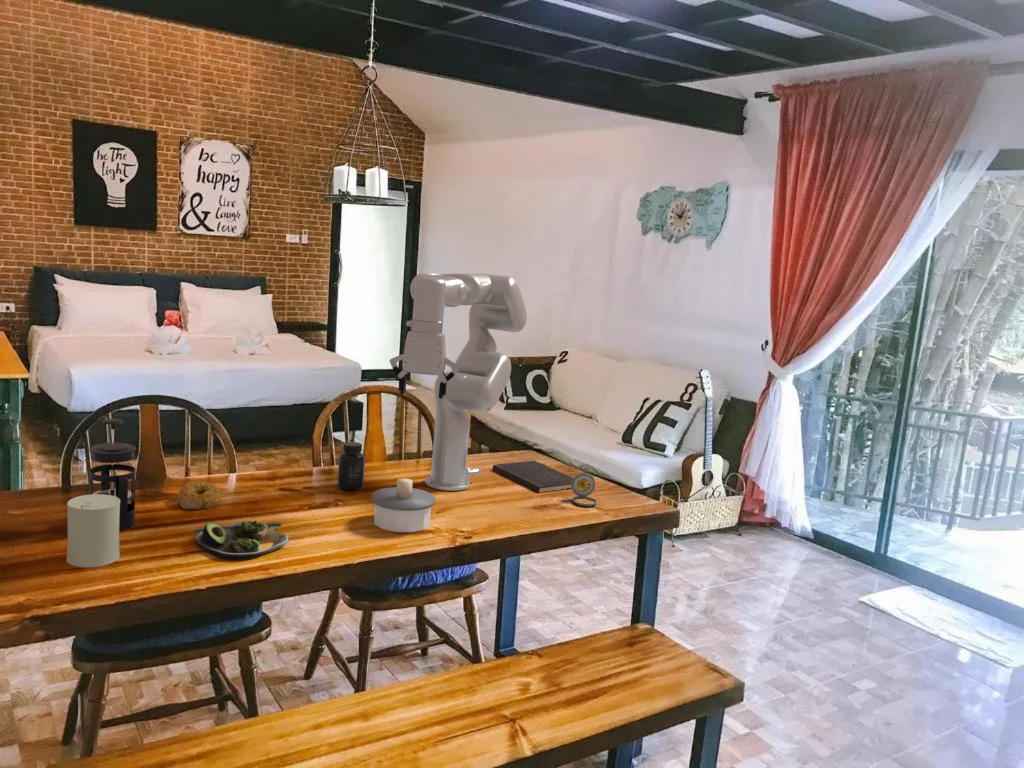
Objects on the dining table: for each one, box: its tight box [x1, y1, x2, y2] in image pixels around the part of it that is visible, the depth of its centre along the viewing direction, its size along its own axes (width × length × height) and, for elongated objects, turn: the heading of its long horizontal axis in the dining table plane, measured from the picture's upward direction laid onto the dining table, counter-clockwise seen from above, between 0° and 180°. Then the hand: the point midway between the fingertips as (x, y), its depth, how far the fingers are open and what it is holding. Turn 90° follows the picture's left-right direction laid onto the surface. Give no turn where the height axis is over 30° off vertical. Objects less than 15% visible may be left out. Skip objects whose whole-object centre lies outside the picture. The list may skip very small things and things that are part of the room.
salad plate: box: [192, 520, 290, 561], centre depth 173 cm, size 19×18×5 cm
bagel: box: [176, 480, 223, 511], centre depth 193 cm, size 10×11×5 cm
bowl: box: [373, 503, 432, 533], centre depth 193 cm, size 13×13×6 cm
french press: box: [88, 418, 137, 531], centre depth 174 cm, size 12×9×23 cm
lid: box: [371, 477, 436, 511], centre depth 192 cm, size 15×15×5 cm
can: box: [66, 494, 121, 569], centre depth 157 cm, size 9×9×12 cm
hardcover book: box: [491, 460, 579, 494], centre depth 241 cm, size 16×23×2 cm
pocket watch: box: [571, 463, 598, 507], centre depth 222 cm, size 8×8×10 cm
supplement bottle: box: [337, 441, 366, 492], centre depth 215 cm, size 7×7×12 cm
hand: (421, 395), depth 203 cm, fingers open, 9 cm apart
